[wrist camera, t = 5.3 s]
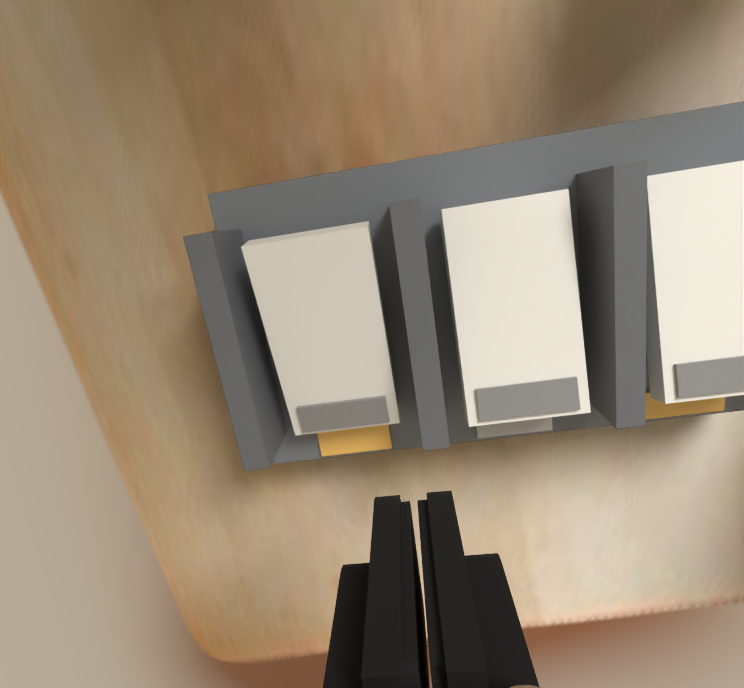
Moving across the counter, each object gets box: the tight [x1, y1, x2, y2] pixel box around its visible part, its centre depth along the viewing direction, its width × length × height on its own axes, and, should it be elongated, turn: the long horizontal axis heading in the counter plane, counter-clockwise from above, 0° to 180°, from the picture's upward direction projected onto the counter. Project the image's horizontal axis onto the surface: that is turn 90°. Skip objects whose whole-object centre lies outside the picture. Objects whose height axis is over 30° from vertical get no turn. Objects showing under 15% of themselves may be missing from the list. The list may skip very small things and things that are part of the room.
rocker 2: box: [439, 189, 591, 427], centre depth 17 cm, size 8×4×1 cm, turn 9°
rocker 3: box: [646, 160, 744, 404], centre depth 16 cm, size 8×4×1 cm, turn 9°
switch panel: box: [183, 101, 744, 471], centre depth 18 cm, size 12×22×6 cm, turn 99°
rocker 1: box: [241, 221, 400, 436], centre depth 17 cm, size 8×4×1 cm, turn 9°
